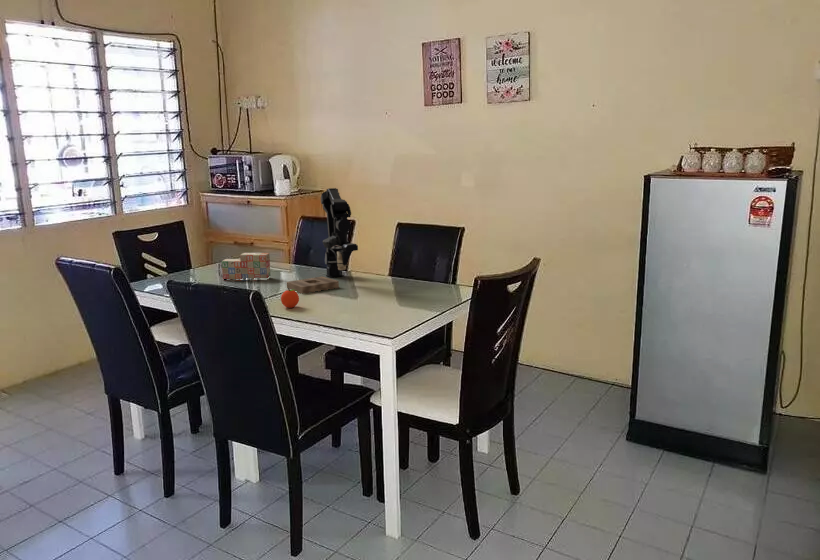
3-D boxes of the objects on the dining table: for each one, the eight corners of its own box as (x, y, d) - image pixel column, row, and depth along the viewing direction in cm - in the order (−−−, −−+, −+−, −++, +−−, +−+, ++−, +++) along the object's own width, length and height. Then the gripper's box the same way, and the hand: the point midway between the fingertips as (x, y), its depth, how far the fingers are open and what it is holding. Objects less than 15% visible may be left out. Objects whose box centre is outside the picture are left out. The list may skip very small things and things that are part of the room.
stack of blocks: (222, 280, 305) (220, 254, 302) (227, 277, 311) (225, 252, 308) (267, 280, 303) (265, 254, 301) (271, 278, 309) (269, 252, 307)
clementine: (293, 303, 258) (292, 286, 257) (305, 306, 254) (304, 288, 252) (277, 307, 252) (276, 290, 251) (289, 310, 248) (288, 292, 246)
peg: (343, 268, 293) (342, 250, 292) (348, 269, 290) (347, 251, 288) (335, 269, 291) (335, 251, 289) (340, 270, 288) (339, 252, 286)
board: (322, 282, 296) (322, 276, 295) (338, 287, 285) (338, 281, 285) (286, 288, 285) (286, 281, 285) (302, 294, 274) (302, 287, 274)
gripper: (313, 229, 289) (315, 264, 292) (336, 233, 275) (337, 270, 278) (335, 227, 296) (336, 261, 299) (358, 231, 281) (359, 266, 285)
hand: (341, 264), depth 290 cm, fingers closed on peg, 4 cm apart
